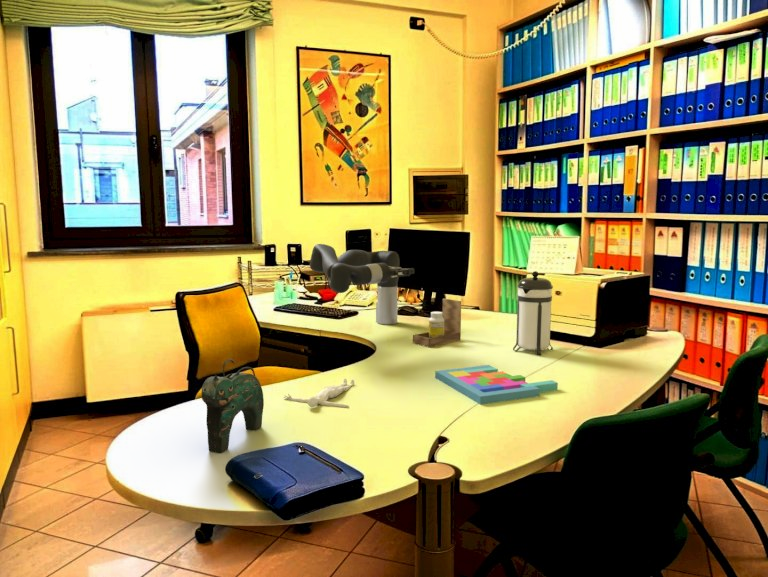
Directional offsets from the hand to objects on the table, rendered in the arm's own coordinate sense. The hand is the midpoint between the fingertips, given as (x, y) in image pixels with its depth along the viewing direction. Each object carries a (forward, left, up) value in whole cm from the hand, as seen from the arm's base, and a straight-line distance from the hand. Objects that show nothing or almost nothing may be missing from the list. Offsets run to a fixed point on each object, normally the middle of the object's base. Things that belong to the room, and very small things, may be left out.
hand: (406, 269), depth 242 cm
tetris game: (+60, -19, -30) cm, 70 cm away
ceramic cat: (+46, -100, -29) cm, 114 cm away
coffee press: (+41, +27, -29) cm, 57 cm away
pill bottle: (+7, +10, -29) cm, 31 cm away
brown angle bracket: (+7, +10, -29) cm, 32 cm away
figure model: (+34, -63, -30) cm, 78 cm away
